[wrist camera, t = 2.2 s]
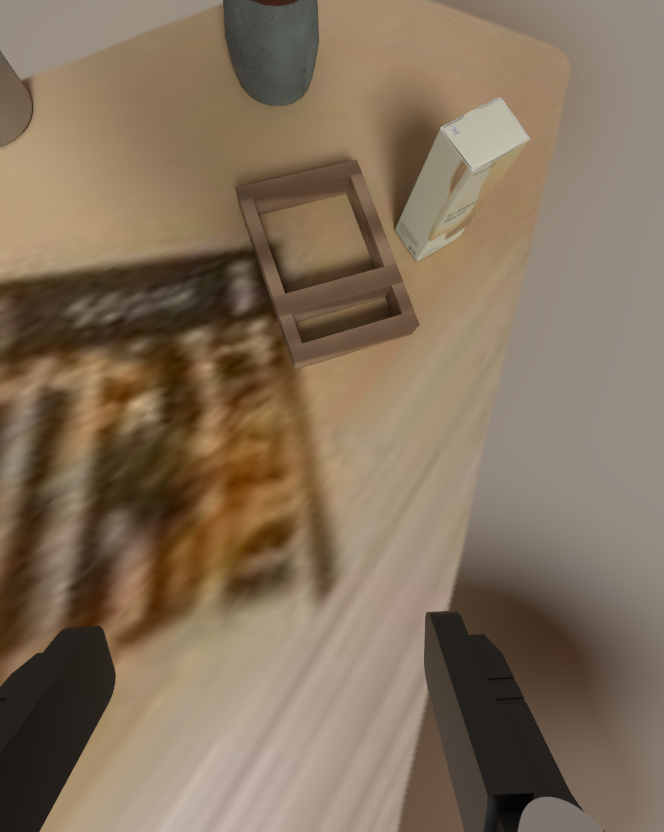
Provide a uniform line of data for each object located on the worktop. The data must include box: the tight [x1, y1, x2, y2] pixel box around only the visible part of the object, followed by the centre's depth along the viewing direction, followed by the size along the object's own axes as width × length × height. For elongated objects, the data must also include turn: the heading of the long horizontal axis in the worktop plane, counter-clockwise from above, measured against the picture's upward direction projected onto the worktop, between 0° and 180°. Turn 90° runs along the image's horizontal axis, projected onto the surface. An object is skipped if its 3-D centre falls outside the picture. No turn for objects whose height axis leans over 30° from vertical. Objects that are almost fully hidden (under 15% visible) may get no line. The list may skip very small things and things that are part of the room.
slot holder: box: [235, 160, 419, 370], centre depth 38 cm, size 18×12×2 cm
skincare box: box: [395, 98, 530, 261], centre depth 35 cm, size 6×4×12 cm
